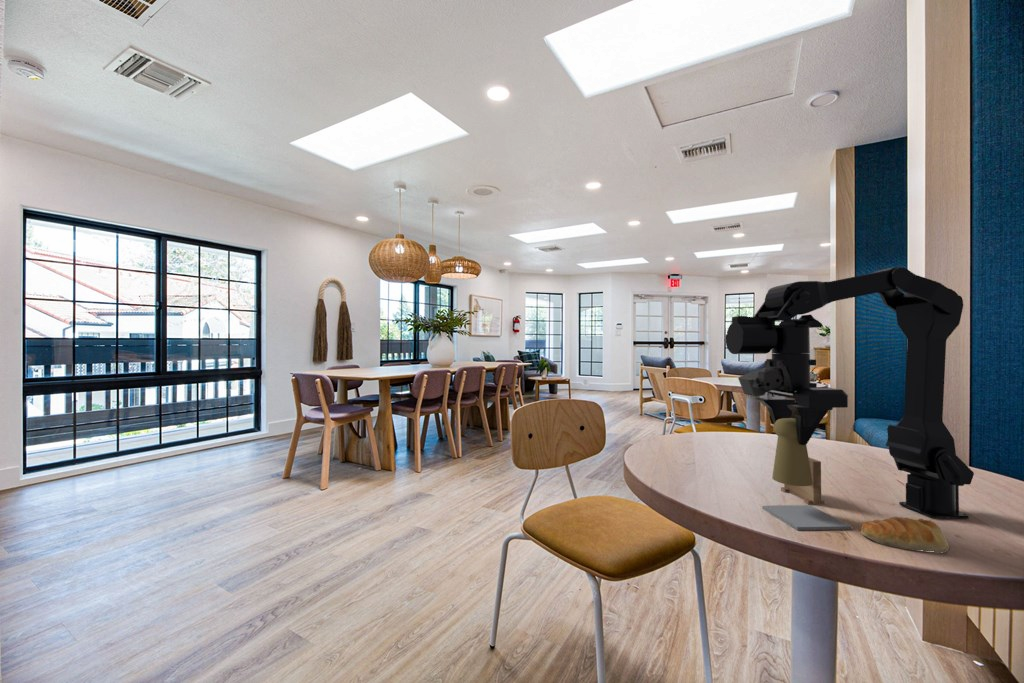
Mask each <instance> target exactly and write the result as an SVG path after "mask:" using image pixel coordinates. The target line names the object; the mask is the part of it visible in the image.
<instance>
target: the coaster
mask: <svg viewBox="0 0 1024 683" xmlns="http://www.w3.org/2000/svg"><path fill="white" fill-rule="evenodd" d="M761 509H762V510H764V511H766V512H768V513H769V514H770V515H772V516H773V517H775V518H776V519H778V520H780V521H781V522H783V523H785V524H786V525H789V526H790V527H792V528H793V529H794V530H797V531H826V530H828V531H829V530H832V531H835V530H838V531H840V530H842V531H843V530H853V529H852V528H853V527H852V525H850V524H849V523H846V522H844V521H843V520H840V519H838V518H836V517H834V516H832V515H831V514H829V513H827V512H825V511H823V510H821V509H818V508H816V506H813V505H812V504H798V505H797V504H796V505H795V504H791V505H789V504H788V505H787V504H786V505H784V504H783V505H782V504H781V505H762V507H761Z"/></svg>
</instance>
